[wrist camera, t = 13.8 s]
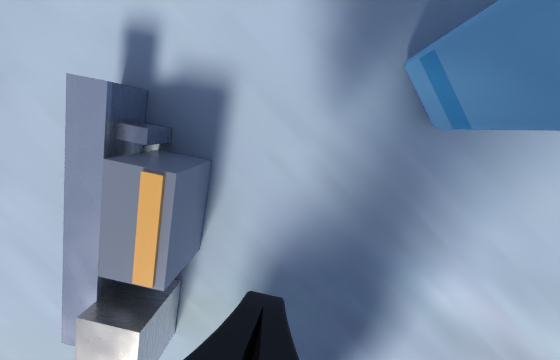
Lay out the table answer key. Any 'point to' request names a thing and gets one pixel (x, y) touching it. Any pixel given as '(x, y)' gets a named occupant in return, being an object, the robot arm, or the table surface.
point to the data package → (494, 70)
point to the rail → (86, 229)
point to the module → (151, 216)
